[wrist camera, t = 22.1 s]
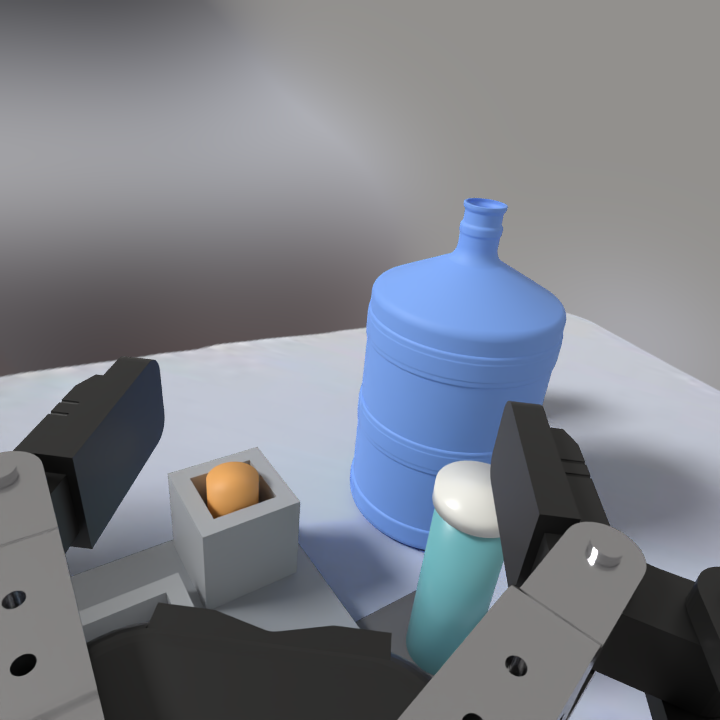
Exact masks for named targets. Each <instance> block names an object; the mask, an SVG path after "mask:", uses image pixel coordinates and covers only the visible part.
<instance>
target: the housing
mask: <svg viewBox="0 0 720 720" xmlns="http://www.w3.org/2000/svg"><path fill="white" fill-rule="evenodd" d="M226 462H243V463H246V464H249V465H251V466H252V467H254V468H255V469H256V470H257V472H258V475H259V503H258V504H255V505H252V506H249V507H247V508H244V509H241V510H238V511H235V512H232V513H230V514H227V515H224V516H221V517H218V518H216V519H213V517H212V515H211V514H210V512H209V510H208V507H207V486H206V477H207V475H208V473H209V472H210V470H212V469H213V468H214V467H216V466H217V465H220V464H222V463H226ZM168 483H169V494H170V506H171V517H172V529H173V540H171V541H168V542H165V543H163V544H160V545H157V546H154V547H151V548H149V549H146V550H143V551H140V552H138V553H135V554H132V555H129V556H127V557H124V558H121V559H118V560H115V561H113V562H110V563H107V564H104V565H102V566H99V567H96V568H93V569H91V570H88V571H85V572H82V573H79V574H77V575H74V576H71V580H72V584H73V588H74V593H75V597H76V601H77V605H78V609H79V613H80V617H81V621H82V625H83V629H84V633H85V637H86V642H89V641H91V640H93V639H95V638H96V637H98V636H101V635H103V634H105V633H108V632H110V631H112V630H115V629H118V628H121V627H124V626H127V625H132V624H136V623H141V622H148V621H150V619H151V617H152V615H153V613H154V610H155V608H156V606H157V604H158V602H159V603H167V604H175V605H182V606H190V607H198V608H205V609H213V610H217V611H219V612H222V613H224V614H227V615H229V616H232V617H234V618H237V619H239V620H242V621H244V622H247V623H249V624H252V625H254V626H257V627H259V628H262V629H264V630H267V631H285V630H295V629H304V628H313V627H323V626H332V625H335V626H343V627H351V628H358V629H360V628H359V627H358V626H357V624H356V623H355V621H354V620H353V619H352V617H351V616H350V614H349V613H348V612H347V610H346V609H345V607H344V606H343V605H342V603H341V602H340V601H339V599H338V598H337V596H336V595H335V594H334V592H333V591H332V589H331V588H330V587H329V585H328V584H327V582H326V581H325V580H324V578H323V577H322V575H321V574H320V573H319V571H318V570H317V569H316V567H315V566H314V564H313V563H312V562H311V560H310V559H309V557H308V556H307V555H306V553H305V552H304V550H303V549H302V548H301V546H300V545H299V543H298V533H299V514H300V501H299V499H298V498H297V497H296V496H295V494H294V493H293V492H292V491H291V489H290V488H289V487H288V485H287V484H286V483H285V482H284V480H283V479H282V478H281V476H280V475H279V474H278V473H277V471H276V470H275V469H274V468H273V466H272V465H271V464H270V462H269V461H268V460H267V459H266V457H265V456H264V455H263V453H262V452H261V451H260V450H259V448H258V447H256V448H252V449H249V450H246V451H242V452H239V453H236V454H232V455H229V456H225V457H222V458H219V459H215V460H212V461H209V462H205V463H202V464H199V465H195V466H192V467H189V468H185V469H182V470H179V471H175V472H172V473H169V474H168Z"/></svg>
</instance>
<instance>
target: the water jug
mask: <svg viewBox="0 0 720 720" xmlns="http://www.w3.org/2000/svg"><path fill="white" fill-rule="evenodd" d="M464 207H465V213H464V218H463V220H462V221H461V223H460V235H459V241H458V245H457V247H456V249H455V250H454V251H453V252H452V253H449V254H444V255H440V256H437V257H432V258H428V259H424V260H420V261H416V262H412V263H408V264H404V265H400V266H397V267H394V268H391V269H389V270H387V271H386V272H384V273H383V274H381V275H380V276H379V277H378V278H377V280H376V281H375V283H374V285H373V288H372V296H371V300H370V303H369V308H368V317H367V330H366V332H367V345H366V355H365V364H364V373H363V383H362V385H361V388H360V393H359V401H358V426H357V436H356V445H355V454H354V458H353V461H352V465H351V473H350V474H351V475H350V486H351V492H352V496H353V499H354V501H355V503H356V505H357V507H358V509H359V510H360V512H361V513H362V514H363V516H364V517H365V518H366V519H367V520H368V521H369V522H370V523H371V524H372V525H373V526H374V527H376V528H377V529H378V530H380V531H381V532H382V533H384V534H385V535H387V536H389V537H391V538H392V539H394V540H396V541H399V542H401V543H403V544H406V545H409V546H412V547H415V548H419V549H423V550H425V549H426V545H427V540H428V536H429V531H430V526H431V522H432V517H433V513H434V508H435V507H434V505H433V501H432V494H433V490H434V485H435V480H436V476H437V474H438V472H439V471H440V470H441V469H442V468H443V467H444V466H446V465H448V464H450V463H453V462H457V461H478V462H483V463H487V464H490V465H491V458H492V453H493V449H494V445H495V441H496V438H497V434H498V430H499V426H500V422H501V418H502V414H503V410H504V407H505V405H506V403H507V401H515V402H524V403H532V404H540V405H542V404H543V401H544V397H545V394H546V390H547V387H548V383H549V379H550V376H551V372H552V370H553V368H554V366H555V364H556V361H557V359H558V355H559V352H560V348H561V345H562V339H563V330H564V326H565V323H566V312H565V309H564V307H563V305H562V303H561V302H560V301H559V300H558V299H557V298H556V297H555V296H554V295H553V294H552V293H551V292H550V291H548V290H546V289H545V288H543V287H542V286H540V285H538V284H537V283H536V282H534V281H532V280H531V279H529V278H528V277H526V276H524V275H523V274H521V273H520V272H518V271H516V270H515V269H513V268H512V267H510V266H508V265H507V264H505V263H503V262H502V261H500V259H499V257H498V254H497V249H498V245H499V240H500V237H501V235H502V231H503V227H502V220H503V215H504V213H505V212H506V211H507V208H508V206H507V205H506V204H504V203H502V202H499V201H494V200H490V199H482V198H469V199H466V200H464Z"/></svg>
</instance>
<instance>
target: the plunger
mask: <svg viewBox="0 0 720 720" xmlns="http://www.w3.org/2000/svg"><path fill="white" fill-rule="evenodd" d="M206 486H207V507H208V510H209V512H210V514H211V515H212V517H213V519H216V518H218V517H221V516H224V515H227V514H230V513H232V512H235V511H238V510H241V509H244V508H247V507H249V506H252V505H255V504H258V503H259V475H258V472H257V470H256V469H255V468H254V467H252V466H251V465H249V464H246V463H243V462H226V463H222V464H220V465H217V466H216V467H214V468H213V469H212V470H210V472H209V473H208V475H207V477H206Z"/></svg>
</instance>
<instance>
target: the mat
mask: <svg viewBox="0 0 720 720" xmlns="http://www.w3.org/2000/svg"><path fill="white" fill-rule="evenodd" d="M415 594H416V591H414V592H412V593H410V594H408V595H406V596H404V597H403V598H401V599H399V600H397V601H395V602H393V603H391V604H389V605H387V606H385V607H383V608H382V609H380V610H378V611H376V612H374V613H372V614H370V615H368V616H366V617H364V618H362V619H361V620H359V621H357V622H355V623H356V624H357V626H358V627H359V628H360V629H366V630H374V631H381V632H389V633H392V637H391V652H392V653H394V654H397V655H399V656H401V657H403V658H405V659H407V660H409V661H411V662H412V663H414V664H416V663H415V662H414V661H413V660H412V658H411V657H410V655H409V653H408V650H407V646H406V635H407V630H408V626H409V621H410V617H411V612H412V608H413V603H414V599H415ZM416 665H417V664H416ZM417 666H418V665H417ZM418 667H419V666H418ZM428 674H429V673H428ZM429 675H430V676H431V677H432V678H433V677H434V675H432V674H429Z"/></svg>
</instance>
